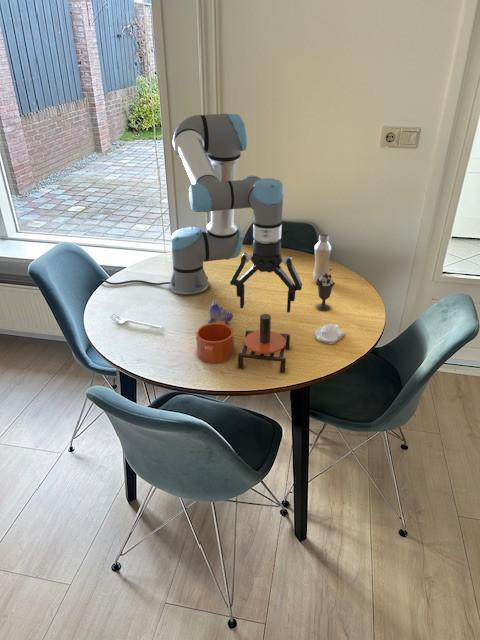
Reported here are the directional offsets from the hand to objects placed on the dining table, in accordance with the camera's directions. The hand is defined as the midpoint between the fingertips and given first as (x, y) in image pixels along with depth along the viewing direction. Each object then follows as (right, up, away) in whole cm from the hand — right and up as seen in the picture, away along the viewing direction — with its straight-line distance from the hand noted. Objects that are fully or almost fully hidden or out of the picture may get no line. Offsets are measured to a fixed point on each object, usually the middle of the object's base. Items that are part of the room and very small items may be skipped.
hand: (265, 308), depth 139 cm
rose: (+22, -9, +18) cm, 30 cm away
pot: (-15, -14, +11) cm, 23 cm away
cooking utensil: (-49, -3, +28) cm, 56 cm away
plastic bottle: (+25, +12, +54) cm, 61 cm away
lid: (0, -10, +6) cm, 12 cm away
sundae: (+23, +1, +36) cm, 43 cm away
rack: (0, -15, +8) cm, 17 cm away
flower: (-15, -5, +26) cm, 30 cm away
